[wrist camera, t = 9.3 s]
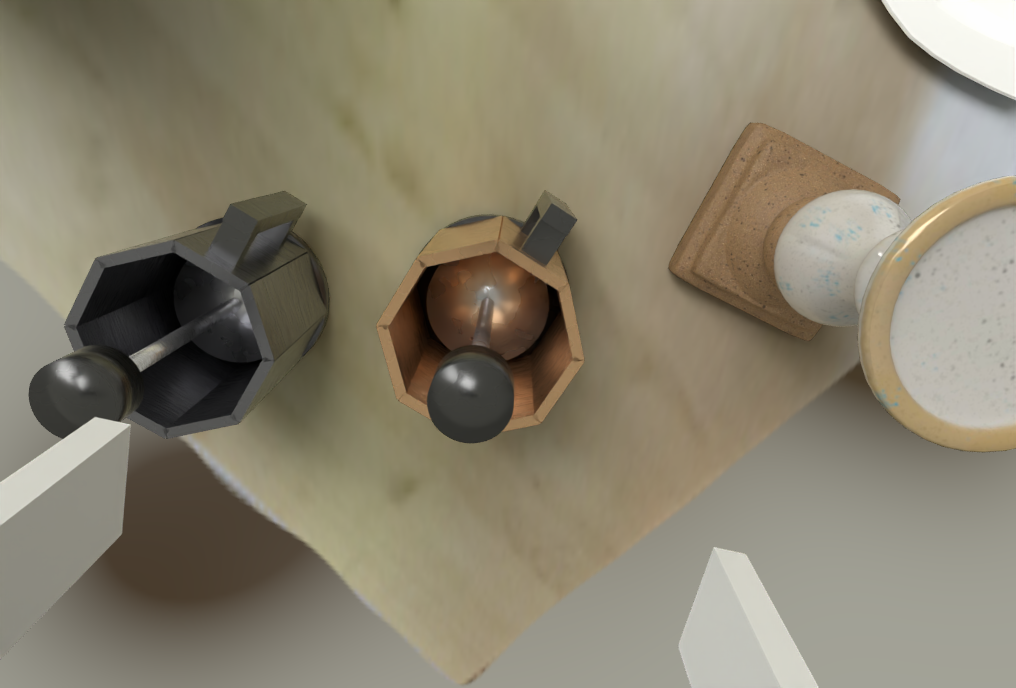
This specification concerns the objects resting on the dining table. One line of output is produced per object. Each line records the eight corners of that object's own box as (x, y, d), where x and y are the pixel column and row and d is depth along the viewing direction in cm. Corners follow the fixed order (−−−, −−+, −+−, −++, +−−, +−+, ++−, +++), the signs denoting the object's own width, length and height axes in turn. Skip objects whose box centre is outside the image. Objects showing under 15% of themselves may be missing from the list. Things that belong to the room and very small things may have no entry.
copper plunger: (405, 319, 48) (339, 429, 30) (468, 217, 46) (437, 270, 28) (506, 380, 49) (500, 522, 31) (571, 283, 47) (605, 375, 29)
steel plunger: (159, 319, 48) (-53, 428, 30) (211, 218, 46) (17, 271, 28) (265, 380, 49) (121, 520, 31) (320, 284, 47) (200, 374, 29)
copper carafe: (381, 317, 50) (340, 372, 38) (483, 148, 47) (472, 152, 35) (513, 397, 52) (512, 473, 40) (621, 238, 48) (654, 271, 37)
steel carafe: (145, 318, 50) (34, 372, 39) (230, 149, 47) (137, 154, 35) (284, 397, 52) (217, 472, 40) (376, 239, 48) (332, 272, 37)
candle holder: (800, 337, 50) (1040, 509, 27) (664, 269, 49) (795, 388, 26) (891, 195, 47) (1244, 253, 24) (749, 118, 46) (979, 103, 23)
